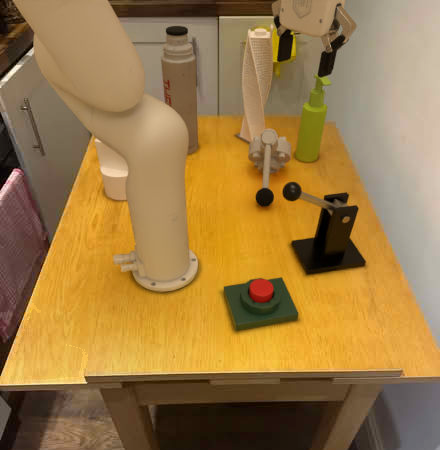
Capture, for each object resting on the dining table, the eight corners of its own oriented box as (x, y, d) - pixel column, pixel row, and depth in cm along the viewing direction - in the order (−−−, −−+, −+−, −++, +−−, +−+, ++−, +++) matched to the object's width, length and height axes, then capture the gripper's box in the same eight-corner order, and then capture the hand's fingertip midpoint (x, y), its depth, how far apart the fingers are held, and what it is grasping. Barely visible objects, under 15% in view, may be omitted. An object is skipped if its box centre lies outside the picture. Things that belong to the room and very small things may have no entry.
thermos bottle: (172, 156, 107) (162, 34, 86) (166, 142, 112) (155, 24, 91) (201, 152, 109) (198, 31, 88) (194, 138, 114) (189, 21, 93)
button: (252, 304, 68) (253, 297, 67) (246, 287, 71) (247, 280, 70) (275, 300, 69) (276, 293, 68) (268, 284, 72) (269, 277, 70)
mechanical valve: (291, 150, 104) (292, 123, 89) (286, 220, 103) (287, 204, 88) (250, 150, 105) (245, 124, 90) (246, 218, 105) (240, 203, 90)
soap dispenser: (302, 165, 104) (316, 83, 90) (291, 152, 109) (303, 72, 94) (323, 162, 106) (340, 80, 91) (312, 149, 110) (326, 69, 95)
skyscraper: (274, 139, 114) (287, 22, 93) (253, 148, 110) (262, 29, 90) (253, 128, 118) (261, 14, 97) (232, 137, 115) (236, 21, 94)
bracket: (306, 275, 78) (319, 221, 68) (290, 245, 83) (300, 191, 74) (364, 266, 79) (384, 212, 70) (345, 237, 85) (361, 183, 76)
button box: (235, 331, 68) (236, 318, 66) (223, 292, 74) (223, 279, 72) (297, 320, 70) (300, 306, 68) (280, 283, 76) (283, 269, 73)
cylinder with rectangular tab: (97, 195, 95) (85, 147, 86) (116, 176, 100) (107, 128, 92) (132, 203, 93) (124, 154, 84) (149, 182, 99) (143, 135, 90)
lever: (282, 202, 67) (293, 186, 65) (276, 191, 69) (286, 175, 67) (342, 224, 74) (354, 210, 72) (335, 213, 76) (346, 199, 74)
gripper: (264, -62, 64) (255, 59, 76) (354, -46, 55) (327, 87, 67) (296, -65, 67) (282, 51, 80) (386, -51, 58) (355, 77, 71)
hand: (303, 67), depth 74 cm, fingers open, 9 cm apart
